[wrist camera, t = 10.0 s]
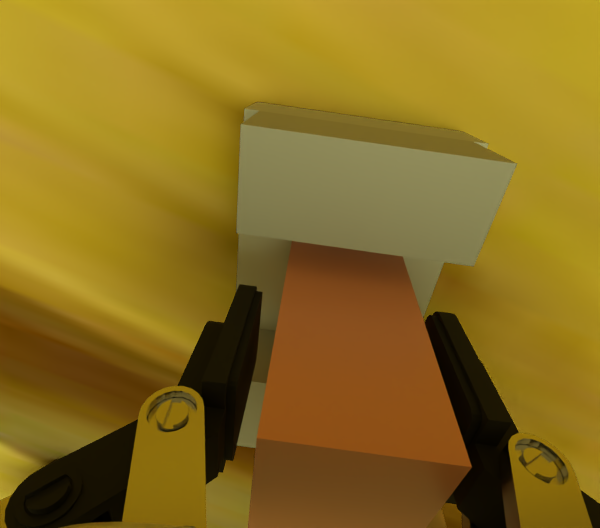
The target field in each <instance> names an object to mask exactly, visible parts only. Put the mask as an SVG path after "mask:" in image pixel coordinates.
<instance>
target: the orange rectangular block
mask: <svg viewBox="0 0 600 528" xmlns="http://www.w3.org/2000/svg"><path fill="white" fill-rule="evenodd" d="M471 468H472V466H471V463H470V460H469V457H468V454H467V451H466V447H465V444H464V441H463V438H462V435H461V432H460V429H459V426H458V423H457V420H456V417H455V414H454V411H453V408H452V405H451V402H450V399H449V396H448V393H447V390H446V387H445V384H444V381H443V378H442V375H441V372H440V369H439V366H438V362H437V359H436V356H435V353H434V350H433V347H432V344H431V341H430V338H429V335H428V332H427V329H426V326H425V323H424V320H423V317H422V314H421V311H420V308H419V305H418V302H417V299H416V296H415V293H414V290H413V287H412V284H411V280H410V277H409V274H408V271H407V268H406V265H405V262H404V259H403V256H396V255H389V254H382V253H375V252H367V251H360V250H353V249H346V248H339V247H332V246H325V245H318V244H311V243H304V242H296V241H292V243H291V249H290V254H289V260H288V265H287V271H286V277H285V282H284V288H283V293H282V299H281V305H280V310H279V316H278V321H277V327H276V333H275V338H274V344H273V349H272V355H271V361H270V366H269V372H268V377H267V383H266V389H265V394H264V400H263V405H262V411H261V417H260V422H259V428H258V433H257V440H256V450H255V460H254V470H253V480H252V490H251V501H250V511H249V521H248V528H426V527H427V526H428V525H429V523H430V522H431V521H432V519H433V518H434V517H435V515H436V514H437V513H438V512H439V510H440V509H441V508H442V506H443V505H444V504H445V502H446V501H447V500H448V498H449V497H450V496H451V494H452V493H453V492H454V490H455V489H456V488H457V486H458V485H459V484H460V482H461V481H462V480H463V478H464V477H465V476H466V474H467V473H468V472H469V470H470V469H471Z"/></svg>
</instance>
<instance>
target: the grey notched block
mask: <svg viewBox="0 0 600 528" xmlns="http://www.w3.org/2000/svg"><path fill="white" fill-rule="evenodd" d="M487 147H488V143H486V142H484V141H482V140H480V139H477V138H475V137H473V136H471V135H469V134H467V133H465V132H463V131H456V130H449V129H442V128H435V127H428V126H421V125H414V124H407V123H401V122H394V121H387V120H380V119H373V118H366V117H359V116H352V115H345V114H338V113H331V112H324V111H317V110H311V109H304V108H297V107H290V106H283V105H276V104H269V103H262V102H256V103H254V104H252V105H250V106H248V107H247V108H245V109H244V122H243V123H242V124H241V131H240V155H239V179H238V203H237V227H236V233H239V240H238V262H237V284H236V291H237V289H238V286H239V284H243V285H250V286H257V291H261V292H263V295H262V306H261V317H260V328H259V340H258V351H257V359H256V364H255V369H254V373H253V377H252V382H251V386H250V390H249V395H248V399H247V403H246V408H245V412H244V416H243V421H242V425H241V429H240V433H239V438H238V442H237V446H245V447H252V448H256V440H257V433H258V428H259V422H260V417H261V411H262V405H263V400H264V394H265V389H266V383H267V377H268V372H269V366H270V361H271V355H272V349H273V344H274V338H275V333H276V327H277V321H278V316H279V310H280V305H281V299H282V293H283V288H284V282H285V277H286V271H287V265H288V260H289V254H290V249H291V243H292V241H296V242H304V243H311V244H318V245H325V246H332V247H339V248H346V249H353V250H360V251H367V252H375V253H382V254H389V255H396V256H403V259H404V262H405V265H406V268H407V271H408V274H409V277H410V280H411V284H412V287H413V290H414V293H415V296H416V299H417V302H418V305H419V308H420V311H421V314H422V317H424V315H425V312H426V309H427V307H428V304H429V301H430V299H431V296H432V293H433V291H434V288H435V285H436V283H437V280H438V277H439V275H440V272H441V269H442V267H443V264H444V262H446V263H453V264H460V265H467V266H474V264H475V262H476V260H477V257H478V255H479V252H480V250H481V248H482V245H483V243H484V241H485V238H486V236H487V234H488V231H489V229H490V227H491V224H492V222H493V220H494V217H495V215H496V213H497V210H498V208H499V205H500V203H501V201H502V198H503V196H504V194H505V191H506V189H507V187H508V184H509V182H510V180H511V177H512V175H513V173H514V170H515V168H516V165H517V163H515V162H513V161H511V160H509V159H507V158H505V157H503V156H501V155H499V154H497V153H495V152H493V151H491V150H489V149H487Z"/></svg>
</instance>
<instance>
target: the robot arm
mask: <svg viewBox="0 0 600 528" xmlns="http://www.w3.org/2000/svg"><path fill="white" fill-rule="evenodd" d="M262 295H263V292H261V291H257V286H250V285H243V284H239V286H238V289H237V291H236V294H235V297H234V299H233V302H232V304H231V307H230V309H229V312H228V314H227V317H226V320H225V322H224V323H220V322H213V321H208V322H207V323H206V325H205V327H204V329H203V331H202V334H201V336H200V338H199V340H198V342H197V345H196V347H195V349H194V351H193V353H192V355H191V358H190V360H189V362H188V364H187V366H186V368H185V371H184V373H183V375H182V377H181V379H180V382H179V384H178V386H171V387H167V388H163V389H161V390H159V391H157V392H155V393H154V394H152V395H151V396H150V397H149V398H147V400H146V401H145V402H144V404H143V405H142V407H141V410H140V413H139V417H138V420H136V421H134V422H132V423H130V424H128V425H126V426H124V427H122V428H120V429H118V430H116V431H114V432H112V433H110V434H108V435H106V436H104V437H102V438H100V439H98V440H96V441H94V442H92V443H90V444H88V445H86V446H84V447H82V448H81V449H79V450H77V451H75V452H73V453H71V454H69V455H67V456H65V457H63V458H61V459H59V460H57V461H55V462H53V463H51V464H49V465H47V466H45V467H43V468H41V469H40V470H38V471H36V472H35V473H33V474H32V475H30V476H29V477H28V478H27V479H26V480H24V481H23V482H22V483H21V484H20V485H19V486H18V487H17V489H16V490H15V492H14V493H13V494H12V495H11V496H8V497H6V498H4V499H2V500H0V528H207V521H206V484H207V483H209V482H210V481H212V480H213V479H214V478H216V477H217V476H218V472H222V473H223V470H224V466H225V462H226V460H231V461H233V459H234V455H235V451H236V446H237V442H238V438H239V433H240V429H241V425H242V421H243V416H244V412H245V408H246V403H247V399H248V395H249V390H250V386H251V382H252V377H253V373H254V369H255V364H256V359H257V351H258V340H259V328H260V317H261V306H262ZM425 326H426V329H427V332H428V335H429V338H430V341H431V344H432V347H433V350H434V353H435V356H436V359H437V362H438V366H439V369H440V372H441V375H442V378H443V381H444V384H445V387H446V390H447V393H448V396H449V399H450V402H451V405H452V408H453V411H454V414H455V417H456V420H457V423H458V426H459V429H460V432H461V435H462V438H463V441H464V444H465V447H466V451H467V454H468V457H469V460H470V463H471V466H472V468H471V469H470V470H469V472H468V473H467V474H466V476H465V477H464V478H463V480H462V481H461V482H460V484H459V485H458V486H457V488H456V489H455V490H454V492H453V493H452V494H451V496H450V497H449V498H448V500H447V501H446V502H445V503H452V504H456V505H457V508H458V510H460V511H461V512H462V528H600V504H599V503H598V502H596V501H595V500H594V499H592V498H591V497H590V496H588V495H587V494H585V493H584V492H583V491H581V490H580V487H579V484H578V481H577V477H576V474H575V472H574V470H573V468H572V466H571V464H570V463H569V461H568V460H567V459H566V457H565V456H564V455H563V454H562V453H561V452H560V451H559V450H558V449H557V448H556V447H554V446H553V445H552V444H550V443H549V442H547V441H546V440H544V439H542V438H540V437H537V436H535V435H532V434H528V433H519V432H518V430H517V428H516V426H515V424H514V422H513V421H512V419H511V417H510V415H509V413H508V411H507V409H506V407H505V405H504V404H503V402H502V400H501V398H500V396H499V394H498V392H497V390H496V388H495V387H494V385H493V383H492V381H491V379H490V377H489V375H488V373H487V371H486V370H485V368H484V366H483V364H482V363H481V361H480V360H479V359H478V357H477V355H476V353H475V351H474V349H473V347H472V345H471V343H470V342H469V340H468V338H467V336H466V334H465V332H464V330H463V328H462V326H461V324H460V323H459V321H458V319H457V317H456V315H455V314H451V313H444V312H435V313H434V314H433V315H429V316H428V317H427V319H426V321H425Z"/></svg>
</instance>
